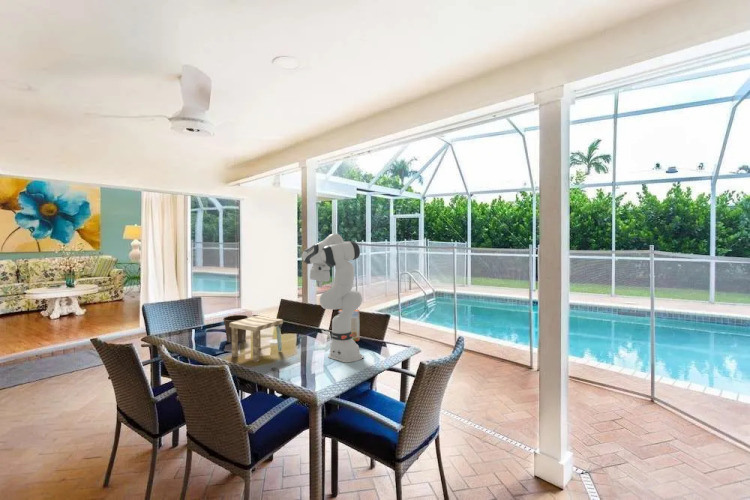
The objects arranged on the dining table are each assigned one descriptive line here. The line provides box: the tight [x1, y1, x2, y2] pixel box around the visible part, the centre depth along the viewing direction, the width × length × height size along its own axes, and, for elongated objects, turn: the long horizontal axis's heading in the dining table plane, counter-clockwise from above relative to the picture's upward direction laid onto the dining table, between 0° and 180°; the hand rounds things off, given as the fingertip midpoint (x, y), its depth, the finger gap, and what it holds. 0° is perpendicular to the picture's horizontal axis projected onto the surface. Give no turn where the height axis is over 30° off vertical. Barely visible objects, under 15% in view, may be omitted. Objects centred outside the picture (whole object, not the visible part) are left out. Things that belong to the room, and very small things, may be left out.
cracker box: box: [337, 309, 361, 342], centre depth 260 cm, size 14×6×21 cm, turn 84°
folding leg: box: [275, 325, 283, 352], centre depth 234 cm, size 2×2×17 cm
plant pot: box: [222, 314, 249, 344], centre depth 260 cm, size 16×16×16 cm
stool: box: [229, 315, 284, 363], centre depth 230 cm, size 22×22×20 cm
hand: (319, 287), depth 258 cm, fingers closed
